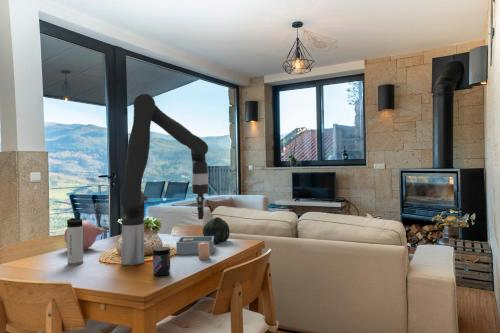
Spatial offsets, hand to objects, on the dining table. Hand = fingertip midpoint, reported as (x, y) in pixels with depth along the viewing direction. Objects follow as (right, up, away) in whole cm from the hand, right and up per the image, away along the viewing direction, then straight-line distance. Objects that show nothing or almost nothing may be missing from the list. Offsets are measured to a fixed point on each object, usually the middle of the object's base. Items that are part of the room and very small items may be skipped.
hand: (201, 217), depth 170 cm
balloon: (-63, -20, +19) cm, 68 cm away
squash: (+4, -19, +33) cm, 38 cm away
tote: (-4, -18, +13) cm, 23 cm away
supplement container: (-12, -19, -28) cm, 36 cm away
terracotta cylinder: (+2, -18, -3) cm, 19 cm away
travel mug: (-55, -19, -9) cm, 59 cm away
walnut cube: (-8, -18, +12) cm, 23 cm away
